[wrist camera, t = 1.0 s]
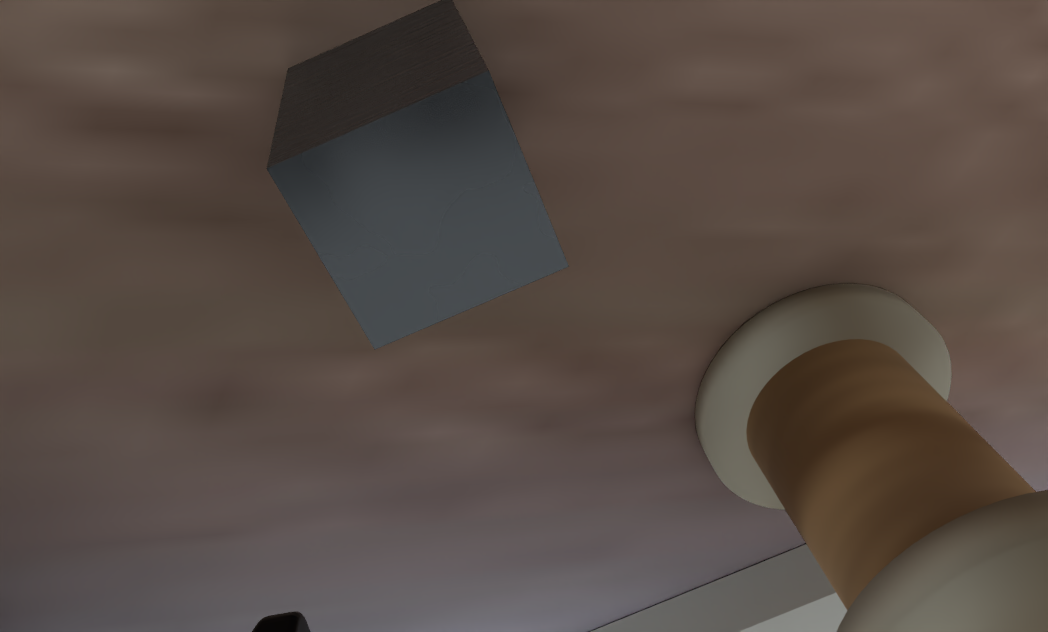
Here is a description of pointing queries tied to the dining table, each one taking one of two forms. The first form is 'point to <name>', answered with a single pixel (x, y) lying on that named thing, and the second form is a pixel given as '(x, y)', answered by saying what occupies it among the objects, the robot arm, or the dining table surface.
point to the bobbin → (876, 464)
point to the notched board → (749, 602)
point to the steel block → (410, 175)
